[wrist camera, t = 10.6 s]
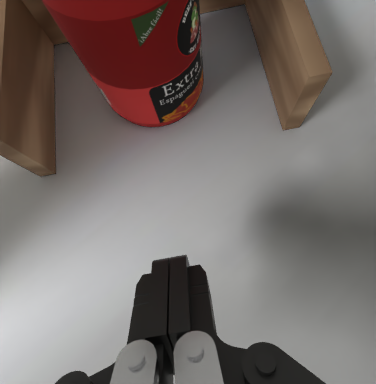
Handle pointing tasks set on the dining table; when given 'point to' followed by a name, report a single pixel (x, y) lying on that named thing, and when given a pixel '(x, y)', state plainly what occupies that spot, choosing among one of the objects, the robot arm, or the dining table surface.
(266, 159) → the dining table surface
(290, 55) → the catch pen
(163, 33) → the canned food
